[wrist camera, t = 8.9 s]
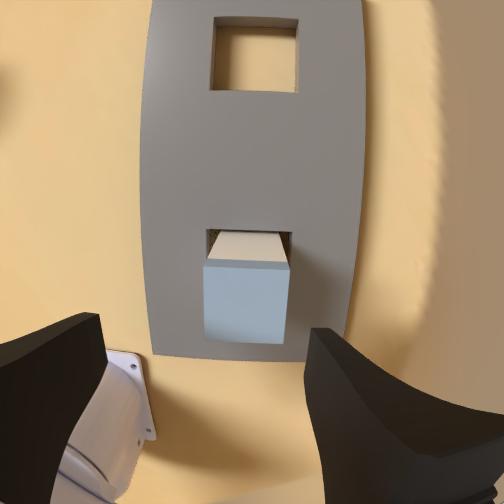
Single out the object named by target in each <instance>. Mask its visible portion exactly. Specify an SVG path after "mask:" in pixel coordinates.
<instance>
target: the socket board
mask: <svg viewBox="0 0 504 504" xmlns="http://www.w3.org/2000/svg"><path fill="white" fill-rule="evenodd" d="M228 26H248V27H276V28H291V29H296V62H295V93H289V92H272V91H240V90H217V91H213V85H214V66H215V49H216V33H217V27H228ZM365 129H366V70H365V44H364V27H363V13H362V2H361V0H153V1H152V8H151V14H150V21H149V29H148V37H147V46H146V55H145V65H144V76H143V90H142V106H141V127H140V216H141V238H142V255H143V269H144V281H145V292H146V302H147V312H148V320H149V329H150V336H151V344H152V351H153V354H154V355H164V356H174V357H186V358H198V359H213V360H232V361H259V362H306V358H307V352H308V345H309V338H310V331H311V328H330V329H332V330H333V331H334V332H336V333H337V334H338V335H339V336H340V337H342V338H343V337H344V332H345V326H346V321H347V315H348V309H349V302H350V296H351V289H352V283H353V275H354V268H355V260H356V252H357V244H358V235H359V225H360V214H361V203H362V190H363V175H364V157H365ZM210 229H230V230H261V231H288V232H289V246H288V265H289V268H290V277H289V288H288V299H287V310H286V320H285V331H284V340H283V344H268V343H242V342H223V341H207V340H205V334H204V290H203V266H204V264H205V262H206V260H207V258H208V256H209V254H210Z"/></svg>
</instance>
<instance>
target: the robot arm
mask: <svg viewBox="0 0 504 504" xmlns="http://www.w3.org/2000/svg"><path fill="white" fill-rule="evenodd" d="M133 364H134V365H136V366H137V367H135V366H133ZM304 386H305V395H306V403H307V407H308V411H309V415H310V419H311V423H312V427H313V431H314V434H315V438H316V442H317V446H318V450H319V454H320V460H321V465H322V473H323V482H324V492H325V504H495V503H494V501H493V499H494V498H495V497H496V496H497V493H498V492H497V490H496V488H495V487H494V484H495V482H496V481H497V480H498V479H499V478H500V477H501V475H502V474H503V473H504V415H502V414H496V413H491V412H485V411H479V410H474V409H470V408H467V407H463V406H460V405H456V404H452V403H450V402H447V401H444V400H441V399H439V398H436V397H434V396H431V395H429V394H426V393H424V392H422V391H420V390H418V389H415V388H413V387H411V386H410V385H408V384H406V383H404V382H402V381H401V380H399V379H397V378H395V377H394V376H392V375H390V374H389V373H387V372H386V371H384V370H383V369H381V368H380V367H378V366H377V365H376V364H374V363H373V362H371V361H370V360H369V359H367V358H366V357H365V356H363V355H362V354H361V353H360V352H358V351H357V350H356V349H355V348H354V347H352V346H351V345H350V344H349V343H348V342H346V341H345V340H344V339H343V338H342V337H340V336H339V335H338V334H337V333H336V332H334V331H333V330H332V329H330V328H311V331H310V338H309V345H308V352H307V358H306V365H305V371H304ZM156 438H157V435H156V431H155V427H154V422H153V418H152V414H151V410H150V405H149V400H148V396H147V391H146V386H145V381H144V376H143V371H142V365H141V360H140V357H139V356H138V355H137V354H134V353H128V352H120V351H113V350H107V349H106V348H105V344H104V339H103V333H102V328H101V322H100V317H99V314H95V313H87V312H83V313H80V314H76V315H74V316H71V317H68V318H66V319H64V320H61V321H59V322H56V323H54V324H52V325H49V326H47V327H45V328H43V329H40V330H38V331H35V332H33V333H30V334H28V335H25V336H23V337H20V338H17V339H15V340H12V341H9V342H6V343H3V344H0V504H117V503H115V502H114V501H115V500H116V499H118V498H119V497H120V496H122V495H123V494H124V493H125V492H126V490H127V489H128V487H129V485H130V482H131V479H132V476H133V473H134V470H135V467H136V464H137V461H138V458H139V455H140V453H141V450H142V447H143V444H144V441H145V440H150V441H155V440H156ZM501 504H504V501H503V502H502V503H501Z"/></svg>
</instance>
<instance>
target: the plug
mask: <svg viewBox="0 0 504 504" xmlns="http://www.w3.org/2000/svg"><path fill="white" fill-rule="evenodd" d="M289 277H290V268H289V265H288V262H287V259H286V255H285V252H284V249H283V246H282V242H281V239H280V236H279V233H278V231H261V230H230V229H221V231H220V233H219V235H218V237H217V239H216V241H215V243H214V245H213V247H212V249H211V252H210V254H209V256H208V258H207V260H206V262H205V264H204V266H203V290H204V334H205V340H207V341H223V342H242V343H268V344H283V340H284V331H285V320H286V310H287V299H288V288H289Z"/></svg>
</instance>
